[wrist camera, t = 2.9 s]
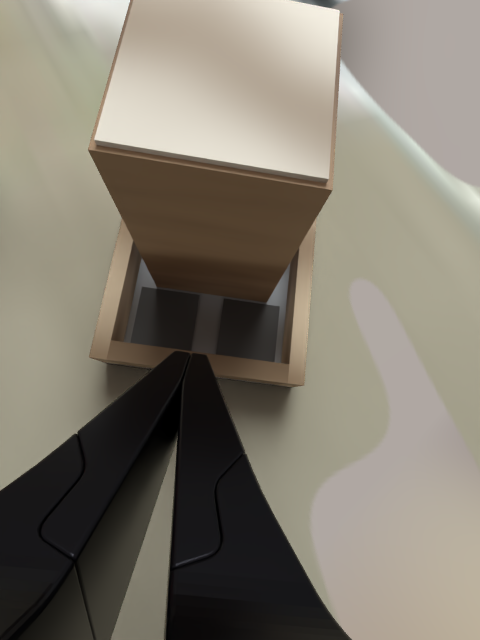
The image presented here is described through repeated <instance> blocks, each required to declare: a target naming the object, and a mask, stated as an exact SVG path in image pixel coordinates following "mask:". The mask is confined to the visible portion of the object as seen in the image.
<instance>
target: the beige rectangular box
mask: <svg viewBox="0 0 480 640" xmlns="http://www.w3.org/2000/svg"><path fill="white" fill-rule="evenodd" d="M342 22H343V14H341V13H339V10H335V9H330V8H325V7H320V6H315V5H310V4H305V3H300V2H295V1H290V0H130V4H129V7H128V11H127V14H126V18H125V21H124V25H123V28H122V32H121V35H120V39H119V42H118V46H117V49H116V53H115V56H114V60H113V63H112V67H111V70H110V74H109V77H108V81H107V84H106V88H105V91H104V95H103V98H102V102H101V105H100V109H99V112H98V116H97V119H96V123H95V127H94V130H93V134H92V137H91V141H90V144H89V148H88V151H89V153H90V155H91V157H92V159H93V161H94V163H95V165H96V167H97V169H98V171H99V173H100V175H101V177H102V179H103V181H104V183H105V185H106V187H107V189H108V191H109V193H110V195H111V197H112V199H113V201H114V203H115V205H116V207H117V209H118V211H119V213H120V215H121V217H122V219H123V221H124V223H125V225H126V227H127V229H128V231H129V233H130V235H131V237H132V239H133V241H134V243H135V245H136V247H137V249H138V251H139V253H140V255H141V257H142V259H143V261H144V263H145V265H146V267H147V269H148V271H149V273H150V275H151V277H152V279H153V281H154V283H155V285H156V287H162V288H169V289H176V290H183V291H190V292H197V293H204V294H211V295H218V296H224V297H231V298H238V299H245V300H252V301H259V302H266V303H267V301H268V300H269V298H270V296H271V294H272V293H273V291H274V289H275V288H276V286H277V284H278V282H279V281H280V279H281V277H282V276H283V274H284V272H285V270H286V269H287V267H288V265H289V264H290V262H291V260H292V258H293V257H294V255H295V253H296V252H297V250H298V248H299V247H300V245H301V243H302V241H303V240H304V238H305V236H306V235H307V233H308V231H309V229H310V228H311V226H312V224H313V223H314V221H315V219H316V217H317V216H318V214H319V212H320V211H321V209H322V207H323V205H324V204H325V202H326V200H327V199H328V197H329V195H330V193H331V192H332V190H333V174H334V157H335V140H336V124H337V107H338V91H339V74H340V58H341V40H342V24H343V23H342Z"/></svg>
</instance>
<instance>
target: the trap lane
mask: <svg viewBox="0 0 480 640" xmlns="http://www.w3.org/2000/svg"><path fill="white" fill-rule="evenodd" d="M315 230H316V219H315V221H314V223H313V224H312V226H311V228H310V229H309V231H308V233H307V235H306V236H305V238H304V240H303V241H302V243H301V245H300V247H299V248H298V250H297V252H296V253H295V255H294V257H293V258H292V260H291V262H290V264H289V265H288V267H287V269H286V270H285V272H284V274H283V276H282V277H281V279H280V281H279V282H278V284H277V286H276V288H275V289H274V291H273V293H272V294H271V296H270V298H269V300H268V301H267V303H266V302H259V301H252V300H245V299H238V298H231V297H224V296H218V295H211V294H204V293H197V292H190V291H183V290H176V289H169V288H162V287H156V285H155V283H154V281H153V279H152V277H151V275H150V273H149V271H148V269H147V267H146V265H145V263H144V261H143V259H142V257H141V255H140V253H139V251H138V249H137V247H136V245H135V243H134V241H133V239H132V237H131V235H130V233H129V231H128V229H127V227H126V225H125V223H124V221H123V219H122V221H121V225H120V229H119V233H118V237H117V242H116V246H115V250H114V254H113V258H112V263H111V267H110V271H109V275H108V279H107V283H106V288H105V292H104V296H103V300H102V304H101V309H100V313H99V317H98V321H97V325H96V330H95V334H94V338H93V342H92V346H91V350H90V355H89V358H93V359H96V360H99V361H102V362H104V363H109V364H116V365H124V366H132V367H139V368H147V369H153V368H154V367H156V366H157V365H158V364H159V363H161V362H162V361H163V360H164V359H165V358H167V357H168V356H169V355H170V354H171V353H173V352H174V351H183V352H189V353H190V355H191V354H192V353H198V354H205V355H207V357H208V359H209V361H210V364H211V366H212V369H213V371H214V374H215V377H216V378H224V379H232V380H239V381H247V382H255V383H262V384H270V385H278V386H285V387H296V386H304V381H305V367H306V353H307V340H308V326H309V312H310V298H311V285H312V271H313V257H314V243H315Z"/></svg>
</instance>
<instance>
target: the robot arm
mask: <svg viewBox="0 0 480 640" xmlns="http://www.w3.org/2000/svg"><path fill="white" fill-rule="evenodd" d="M77 434H78V435H77ZM77 434H74V435H73V436H71V437H70V438H69V439H68V440H67V441H65V442H64V443H63V444H62V445H61V446H59V447H58V448H57V449H56V450H54V451H53V452H52V453H50V454H49V455H48V456H47V457H45V458H44V459H43V460H42V461H40V462H39V463H38V464H37V465H35V466H34V467H33V468H31V469H30V470H28V471H27V472H26V473H24V474H23V475H21V476H20V477H19V478H17V479H16V480H15V481H13V482H12V483H10V484H9V485H8V486H6V487H5V488H3V489H2V490H1V491H0V640H110V639H111V636H112V633H113V630H114V627H115V624H116V621H117V618H118V615H119V612H120V609H121V606H122V603H123V600H124V597H125V594H126V591H127V588H128V585H129V582H130V579H131V576H132V573H133V570H134V567H135V564H136V561H137V558H138V555H139V552H140V549H141V546H142V543H143V540H144V537H145V534H146V531H147V528H148V525H149V522H150V519H151V515H152V512H153V509H154V506H155V503H156V500H157V497H158V494H159V491H160V488H161V485H162V482H163V479H164V476H165V473H166V470H167V467H168V464H169V461H170V458H171V455H172V452H173V449H174V446H175V443H176V439H177V435H178V439H177V453H176V467H175V482H174V497H173V511H172V526H171V541H170V555H169V570H168V584H167V599H166V614H165V628H164V640H352V639H351V638H350V637H349V636H348V635H347V634H346V633H345V632H344V630H343V629H342V628H341V627H340V626H339V624H338V623H337V622H336V621H335V619H334V618H333V616H332V615H331V614H330V612H329V611H328V609H327V608H326V606H325V605H324V603H323V602H322V600H321V599H320V597H319V595H318V594H317V592H316V590H315V588H314V587H313V585H312V583H311V581H310V579H309V578H308V576H307V574H306V572H305V570H304V569H303V567H302V565H301V563H300V561H299V559H298V558H297V556H296V554H295V552H294V550H293V549H292V547H291V545H290V543H289V541H288V539H287V538H286V536H285V534H284V532H283V530H282V529H281V527H280V525H279V523H278V521H277V519H276V518H275V516H274V514H273V512H272V510H271V508H270V506H269V504H268V502H267V500H266V498H265V496H264V494H263V492H262V490H261V488H260V486H259V483H258V481H257V479H256V476H255V474H254V472H253V470H252V467H251V465H250V462H249V459H248V457H247V455H246V454H245V450H244V447H243V445H242V442H241V440H240V437H239V435H238V432H237V430H236V427H235V425H234V422H233V419H232V417H231V414H230V412H229V409H228V407H227V404H226V402H225V399H224V397H223V394H222V392H221V389H220V387H219V384H218V382H217V379H216V377H215V374H214V371H213V369H212V366H211V364H210V361H209V359H208V357H207V355H205V354H198V353H192V354H191V355H190V353H189V352H183V351H174V352H173V353H171V354H170V355H169V356H168V357H167V358H165V359H164V360H163V361H162V362H161V363H159V364H158V365H157V366H156V367H154V368H153V369H152V370H151V371H150V372H148V373H147V374H146V375H145V376H144V377H142V378H141V379H140V380H139V381H138V382H136V383H135V384H134V385H133V386H132V387H130V388H129V389H128V390H127V391H126V392H124V393H123V394H122V395H121V396H120V397H118V398H117V399H116V400H115V401H114V402H112V403H111V404H110V405H109V406H108V407H106V408H105V409H104V410H103V411H102V412H100V413H99V414H98V415H97V416H96V417H94V418H93V419H92V420H91V421H90V422H88V423H87V424H86V425H85V426H84V427H82V428H81V429H80V430H79V431H78V432H77Z"/></svg>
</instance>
